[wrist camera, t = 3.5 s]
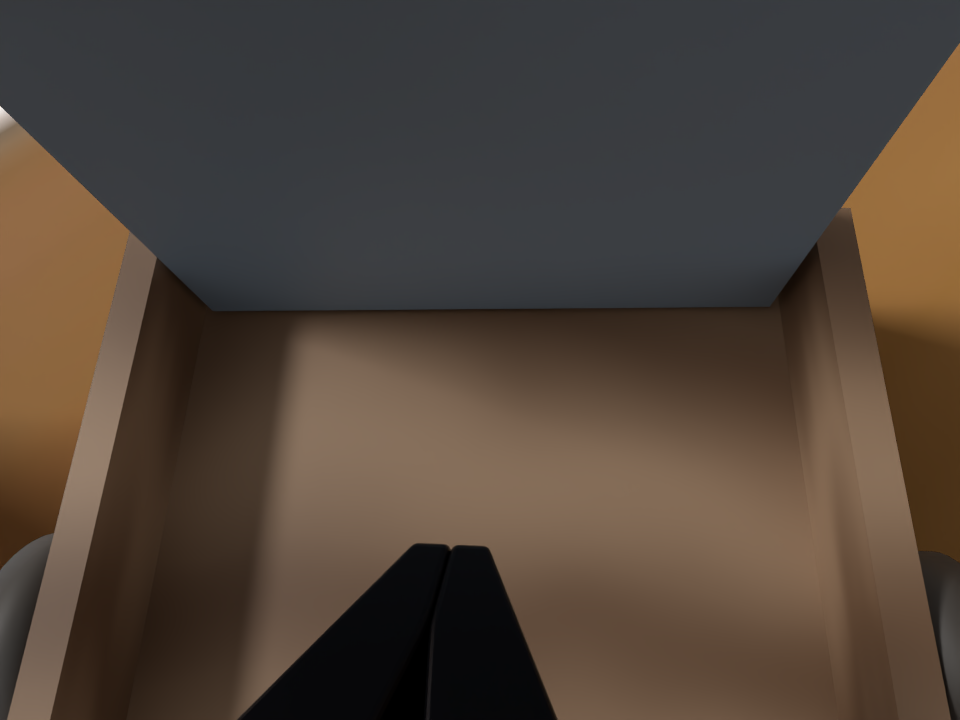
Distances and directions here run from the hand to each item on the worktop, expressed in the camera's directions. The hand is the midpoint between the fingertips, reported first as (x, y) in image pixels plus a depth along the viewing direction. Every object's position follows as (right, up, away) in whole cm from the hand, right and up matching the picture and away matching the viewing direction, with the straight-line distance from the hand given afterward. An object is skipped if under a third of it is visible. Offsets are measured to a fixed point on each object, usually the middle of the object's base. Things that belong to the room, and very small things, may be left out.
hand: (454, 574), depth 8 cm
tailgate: (0, +5, +10) cm, 11 cm away
